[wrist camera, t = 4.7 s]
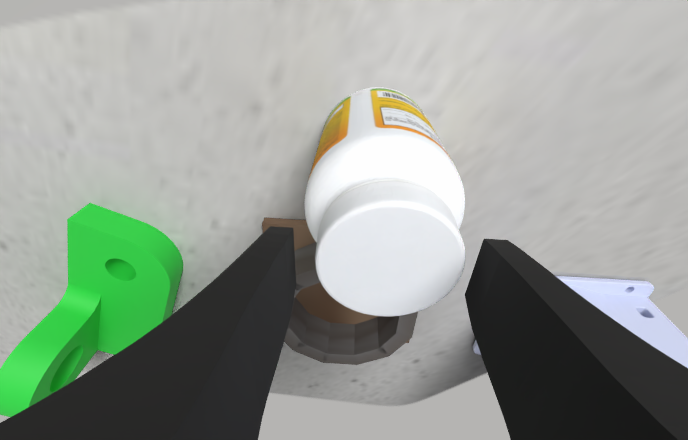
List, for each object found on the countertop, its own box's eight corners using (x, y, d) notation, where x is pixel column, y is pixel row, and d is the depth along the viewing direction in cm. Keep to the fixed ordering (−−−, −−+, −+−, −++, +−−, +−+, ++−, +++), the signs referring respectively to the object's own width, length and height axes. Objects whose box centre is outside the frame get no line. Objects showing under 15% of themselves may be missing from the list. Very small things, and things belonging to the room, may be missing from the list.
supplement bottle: (340, 198, 19) (325, 346, 11) (307, 104, 16) (252, 207, 8) (436, 174, 18) (501, 318, 10) (418, 69, 15) (488, 147, 7)
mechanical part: (165, 342, 27) (101, 453, 20) (87, 320, 26) (-8, 429, 19) (191, 237, 21) (112, 346, 14) (92, 201, 20) (-45, 301, 13)
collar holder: (432, 227, 20) (443, 261, 17) (407, 336, 25) (413, 374, 22) (264, 217, 20) (250, 250, 17) (276, 327, 25) (266, 365, 23)
